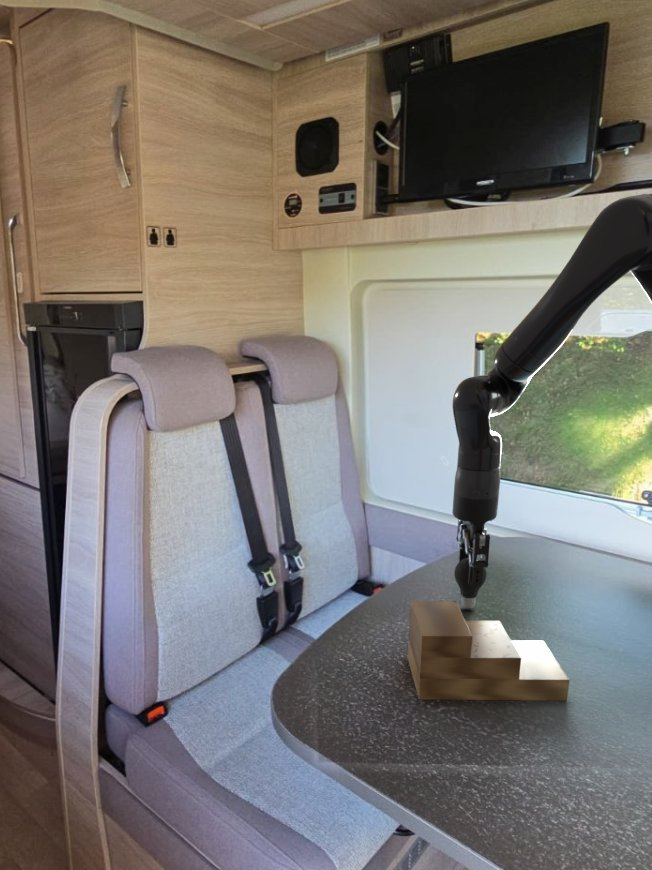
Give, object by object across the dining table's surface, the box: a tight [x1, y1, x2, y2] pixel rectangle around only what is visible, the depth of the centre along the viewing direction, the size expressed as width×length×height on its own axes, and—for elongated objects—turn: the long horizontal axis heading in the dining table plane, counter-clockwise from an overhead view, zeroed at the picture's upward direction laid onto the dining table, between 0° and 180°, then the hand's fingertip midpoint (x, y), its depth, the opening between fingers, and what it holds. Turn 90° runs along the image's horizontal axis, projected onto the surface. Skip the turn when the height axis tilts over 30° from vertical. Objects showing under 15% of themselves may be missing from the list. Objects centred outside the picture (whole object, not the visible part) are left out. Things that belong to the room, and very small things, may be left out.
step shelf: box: [407, 600, 570, 702], centre depth 109 cm, size 21×12×10 cm, turn 85°
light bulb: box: [454, 558, 488, 611], centre depth 132 cm, size 6×6×10 cm
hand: (469, 576), depth 132 cm, fingers open, 8 cm apart
